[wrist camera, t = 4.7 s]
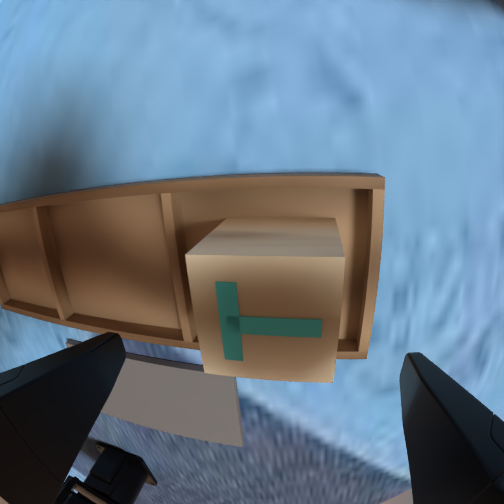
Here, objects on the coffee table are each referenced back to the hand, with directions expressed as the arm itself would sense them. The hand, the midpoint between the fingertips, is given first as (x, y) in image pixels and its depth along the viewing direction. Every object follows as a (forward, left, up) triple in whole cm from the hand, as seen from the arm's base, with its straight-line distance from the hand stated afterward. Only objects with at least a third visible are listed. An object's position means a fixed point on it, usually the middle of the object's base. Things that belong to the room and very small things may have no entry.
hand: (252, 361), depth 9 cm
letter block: (0, 0, -7) cm, 7 cm away
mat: (-11, +10, -7) cm, 16 cm away
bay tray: (0, +10, -7) cm, 12 cm away
